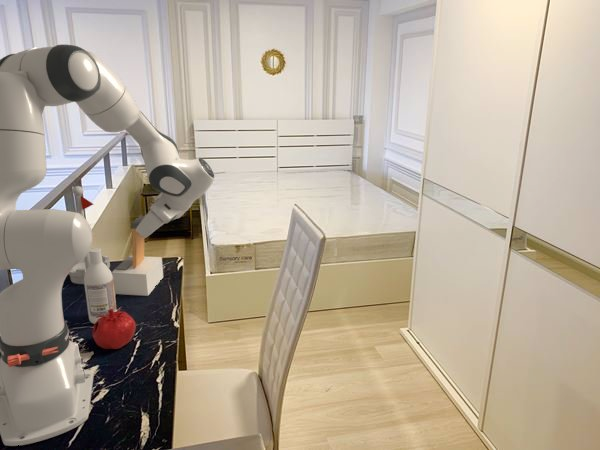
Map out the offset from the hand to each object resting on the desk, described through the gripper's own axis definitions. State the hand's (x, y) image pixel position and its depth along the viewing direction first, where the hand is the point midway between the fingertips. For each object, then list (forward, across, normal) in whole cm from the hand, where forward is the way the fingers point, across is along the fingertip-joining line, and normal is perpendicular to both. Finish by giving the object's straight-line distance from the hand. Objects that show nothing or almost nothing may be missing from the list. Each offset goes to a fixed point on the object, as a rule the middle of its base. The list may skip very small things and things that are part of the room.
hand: (142, 233), depth 136 cm
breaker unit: (+14, 0, +10) cm, 17 cm away
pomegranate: (+9, +31, +15) cm, 36 cm away
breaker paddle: (+9, 0, +6) cm, 10 cm away
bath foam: (+15, +21, +9) cm, 27 cm away
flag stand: (+27, -4, -3) cm, 27 cm away
